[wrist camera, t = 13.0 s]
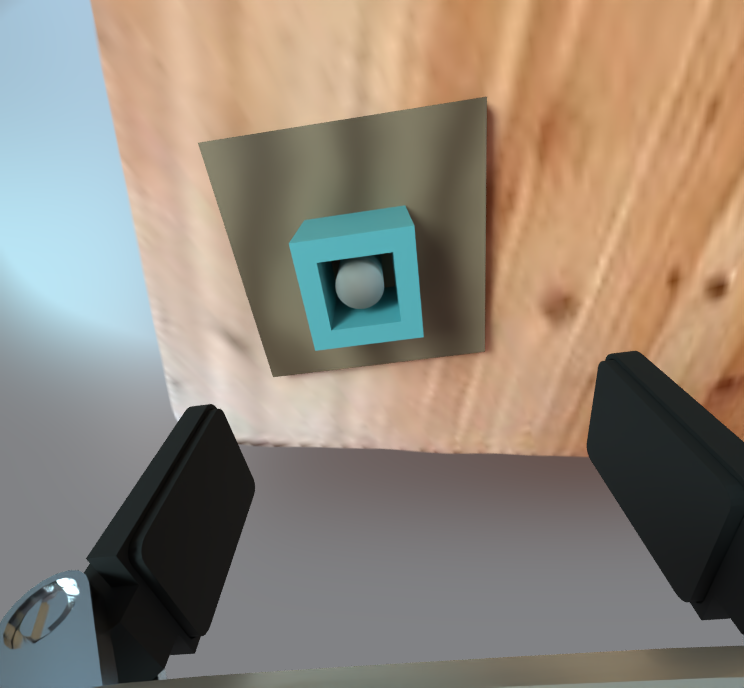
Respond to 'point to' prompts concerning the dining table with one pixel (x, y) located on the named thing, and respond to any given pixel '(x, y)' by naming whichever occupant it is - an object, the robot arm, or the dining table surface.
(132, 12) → the dining table surface
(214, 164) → the post board
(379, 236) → the collar
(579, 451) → the dining table surface
